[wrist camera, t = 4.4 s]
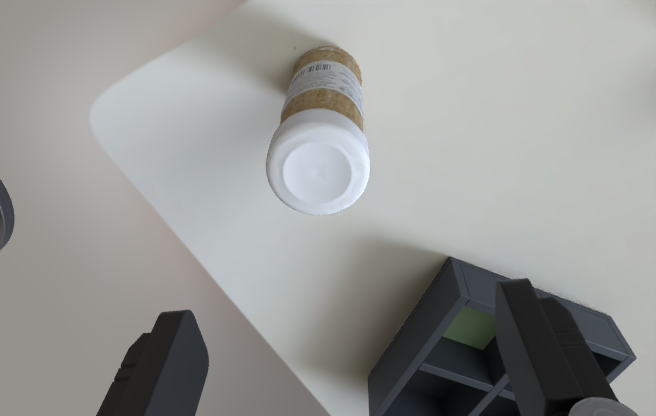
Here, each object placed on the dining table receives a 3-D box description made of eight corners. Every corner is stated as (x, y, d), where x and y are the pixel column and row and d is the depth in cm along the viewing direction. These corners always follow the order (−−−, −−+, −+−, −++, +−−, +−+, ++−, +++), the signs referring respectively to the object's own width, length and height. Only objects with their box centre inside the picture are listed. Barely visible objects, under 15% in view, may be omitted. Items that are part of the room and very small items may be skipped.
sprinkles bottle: (298, 115, 35) (273, 222, 23) (288, 47, 32) (254, 129, 21) (365, 109, 34) (373, 215, 23) (360, 39, 32) (366, 119, 21)
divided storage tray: (367, 377, 48) (369, 419, 44) (449, 256, 40) (460, 294, 37) (509, 422, 51) (522, 466, 47) (611, 316, 43) (637, 358, 39)
